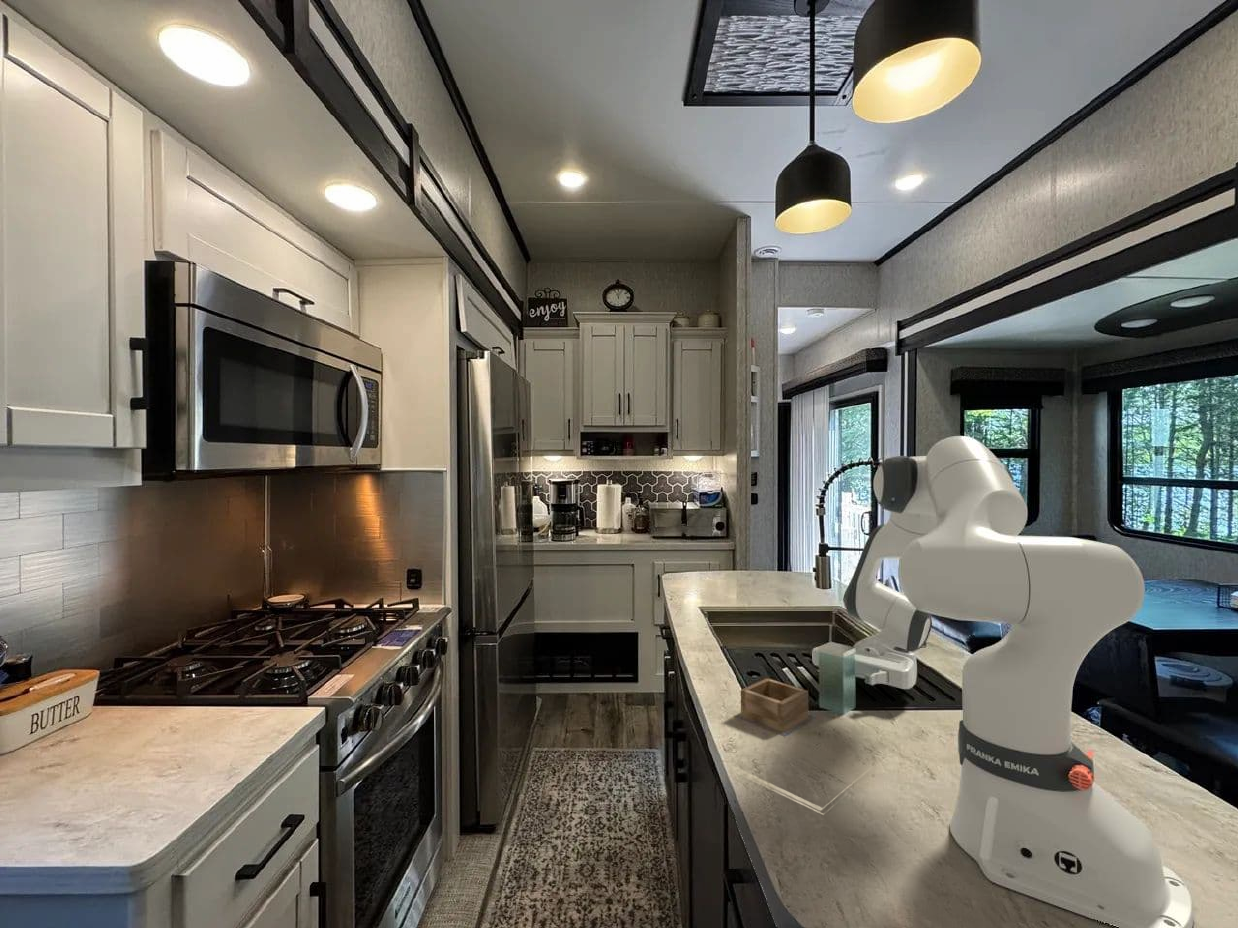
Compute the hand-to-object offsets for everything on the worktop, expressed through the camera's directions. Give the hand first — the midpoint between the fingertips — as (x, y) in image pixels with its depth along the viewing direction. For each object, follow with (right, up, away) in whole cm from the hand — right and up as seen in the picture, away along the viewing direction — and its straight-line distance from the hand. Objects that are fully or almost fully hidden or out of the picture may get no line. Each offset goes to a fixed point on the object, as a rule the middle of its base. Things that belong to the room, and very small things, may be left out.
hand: (844, 673), depth 111 cm
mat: (-16, -6, -6) cm, 18 cm away
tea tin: (-2, -6, -2) cm, 7 cm away
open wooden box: (-16, -6, -6) cm, 18 cm away
